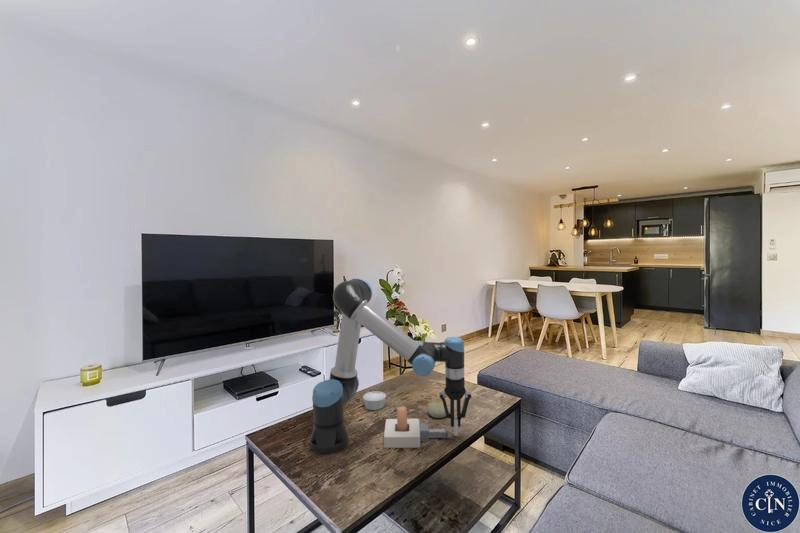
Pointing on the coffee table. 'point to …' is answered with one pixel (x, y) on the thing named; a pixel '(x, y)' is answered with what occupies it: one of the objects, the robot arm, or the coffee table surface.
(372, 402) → the ramekin
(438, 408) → the sea urchin shell
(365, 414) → the coffee table surface
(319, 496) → the coffee table surface
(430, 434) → the lock pin
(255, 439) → the coffee table surface
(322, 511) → the coffee table surface
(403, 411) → the peg
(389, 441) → the dock
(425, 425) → the pin guide
